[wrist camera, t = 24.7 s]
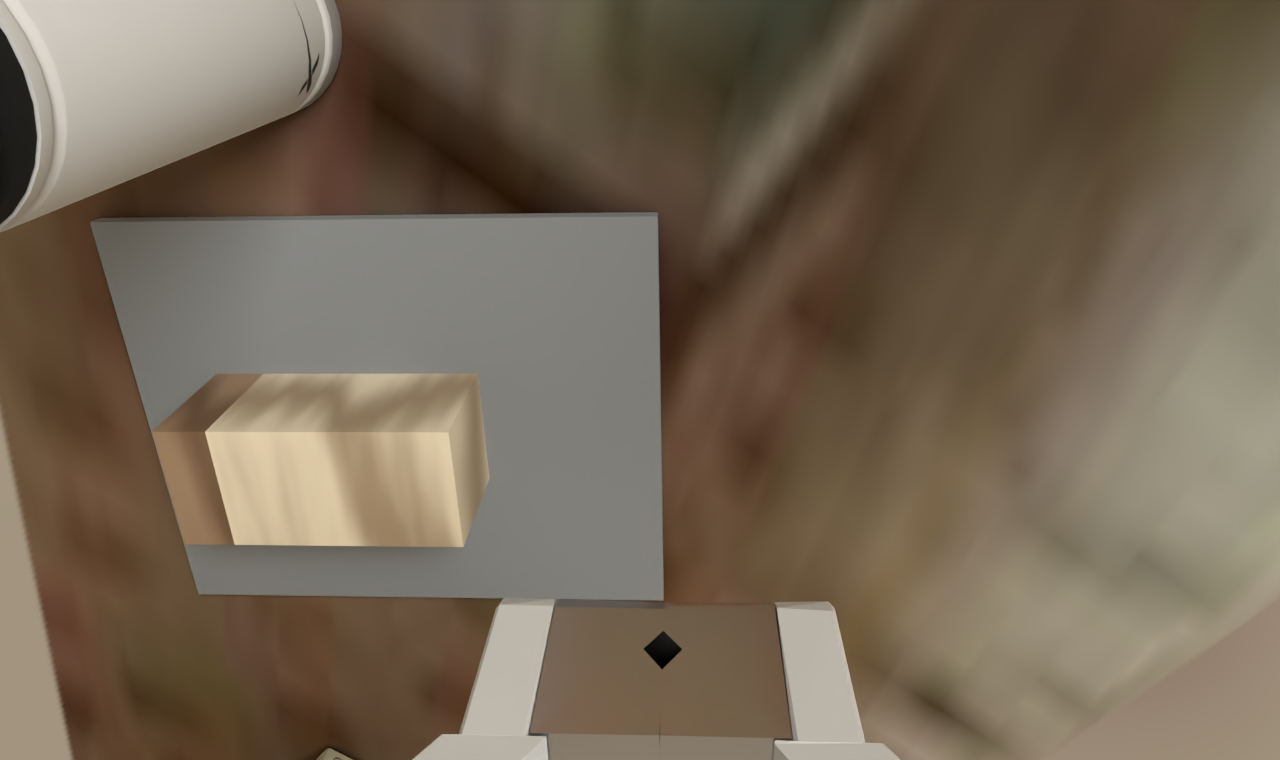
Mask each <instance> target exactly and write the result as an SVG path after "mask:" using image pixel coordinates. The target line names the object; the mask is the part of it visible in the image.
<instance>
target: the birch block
mask: <svg viewBox="0 0 1280 760" xmlns="http://www.w3.org/2000/svg"><path fill="white" fill-rule="evenodd" d="M152 434H153V438H154V441H155V445H156V448H157V451H158V455H159V458H160V462H161V465H162V469H163V472H164V475H165V479H166V482H167V486H168V489H169V492H170V496H171V499H172V503H173V506H174V510H175V513H176V516H177V520H178V523H179V527H180V530H181V534H182V537H183V540H184V544H198V545H299V546H401V547H464V544H465V542H466V539H467V536H468V534H469V531H470V528H471V526H472V523H473V521H474V518H475V515H476V513H477V510H478V507H479V505H480V502H481V499H482V497H483V494H484V492H485V489H486V486H487V484H488V481H489V469H488V460H487V451H486V442H485V433H484V424H483V415H482V406H481V397H480V388H479V379H478V374H216V375H215V376H214V377H212V378H211V379H210V380H209V381H208V382H207V383H206V384H205V385H203V386H202V387H201V388H200V389H199V390H198V391H197V392H196V393H194V394H193V395H192V396H191V397H190V398H189V399H188V400H187V401H186V402H184V403H183V404H182V405H181V406H180V407H179V408H178V409H177V410H175V411H174V412H173V413H172V414H171V415H170V416H169V417H168V418H166V419H165V420H164V421H163V422H162V423H161V424H160V425H159V426H158V427H156V428H155V429H154V430H153V431H152Z"/></svg>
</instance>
